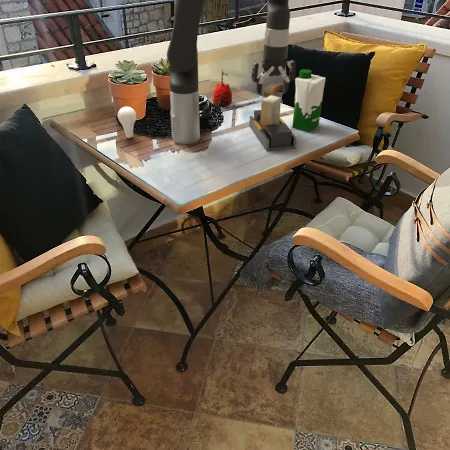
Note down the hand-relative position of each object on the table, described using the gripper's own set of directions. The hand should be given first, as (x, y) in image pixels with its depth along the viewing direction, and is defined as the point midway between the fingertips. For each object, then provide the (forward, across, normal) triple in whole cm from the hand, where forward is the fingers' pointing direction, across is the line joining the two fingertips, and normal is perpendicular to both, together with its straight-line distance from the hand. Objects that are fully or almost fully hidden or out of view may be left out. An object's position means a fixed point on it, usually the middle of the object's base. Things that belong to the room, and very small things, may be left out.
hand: (272, 93), depth 157 cm
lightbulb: (+16, -48, +8) cm, 51 cm away
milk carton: (+15, +15, +3) cm, 21 cm away
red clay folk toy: (+15, -9, +31) cm, 36 cm away
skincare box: (+14, 0, 0) cm, 14 cm away
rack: (+15, 0, -2) cm, 15 cm away
